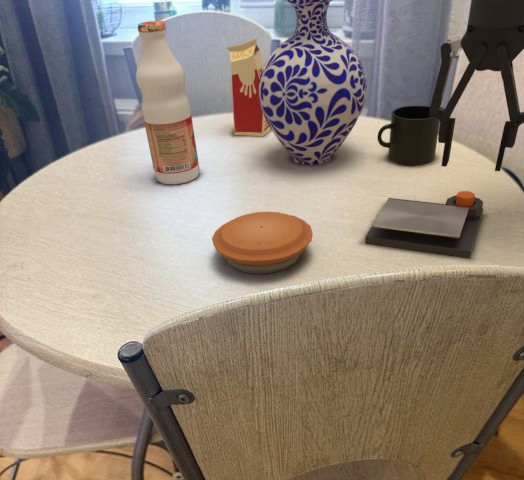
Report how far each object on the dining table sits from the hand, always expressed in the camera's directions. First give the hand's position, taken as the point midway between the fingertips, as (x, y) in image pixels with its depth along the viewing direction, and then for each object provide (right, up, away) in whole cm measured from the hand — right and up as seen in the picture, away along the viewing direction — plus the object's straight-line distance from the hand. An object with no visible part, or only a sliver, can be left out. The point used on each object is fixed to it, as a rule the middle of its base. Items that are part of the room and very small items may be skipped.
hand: (471, 165), depth 83 cm
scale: (-6, -9, +4) cm, 12 cm away
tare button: (0, -5, +4) cm, 6 cm away
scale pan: (-8, -8, +1) cm, 11 cm away
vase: (-22, +13, +32) cm, 41 cm away
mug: (-3, +11, +28) cm, 31 cm away
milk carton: (-35, +26, +49) cm, 66 cm away
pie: (-32, -14, +1) cm, 35 cm away
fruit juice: (-51, +8, +29) cm, 59 cm away
